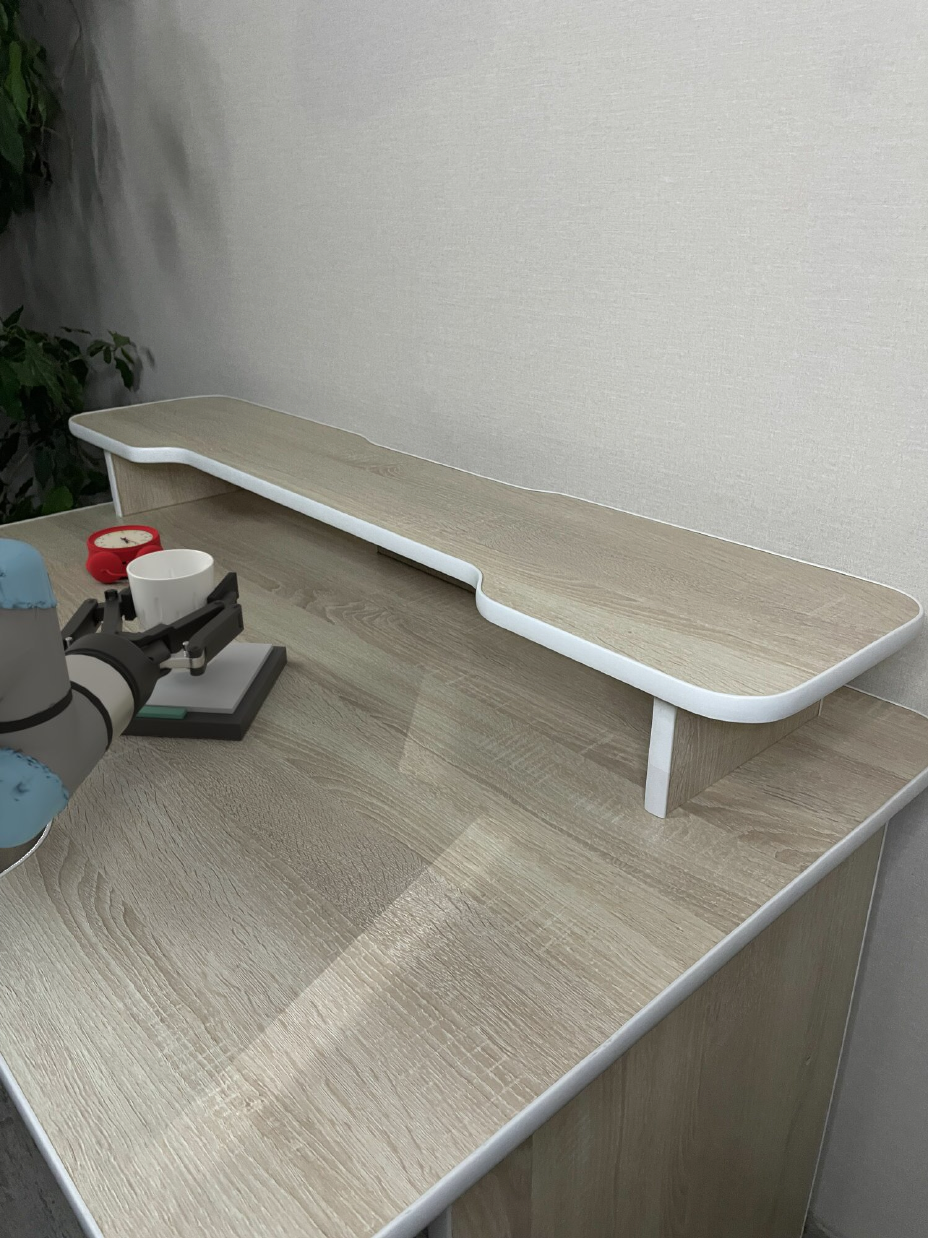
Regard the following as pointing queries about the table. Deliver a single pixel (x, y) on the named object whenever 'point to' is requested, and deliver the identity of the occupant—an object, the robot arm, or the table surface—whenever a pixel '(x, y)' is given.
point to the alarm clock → (119, 550)
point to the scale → (212, 695)
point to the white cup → (170, 586)
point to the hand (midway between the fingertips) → (193, 583)
